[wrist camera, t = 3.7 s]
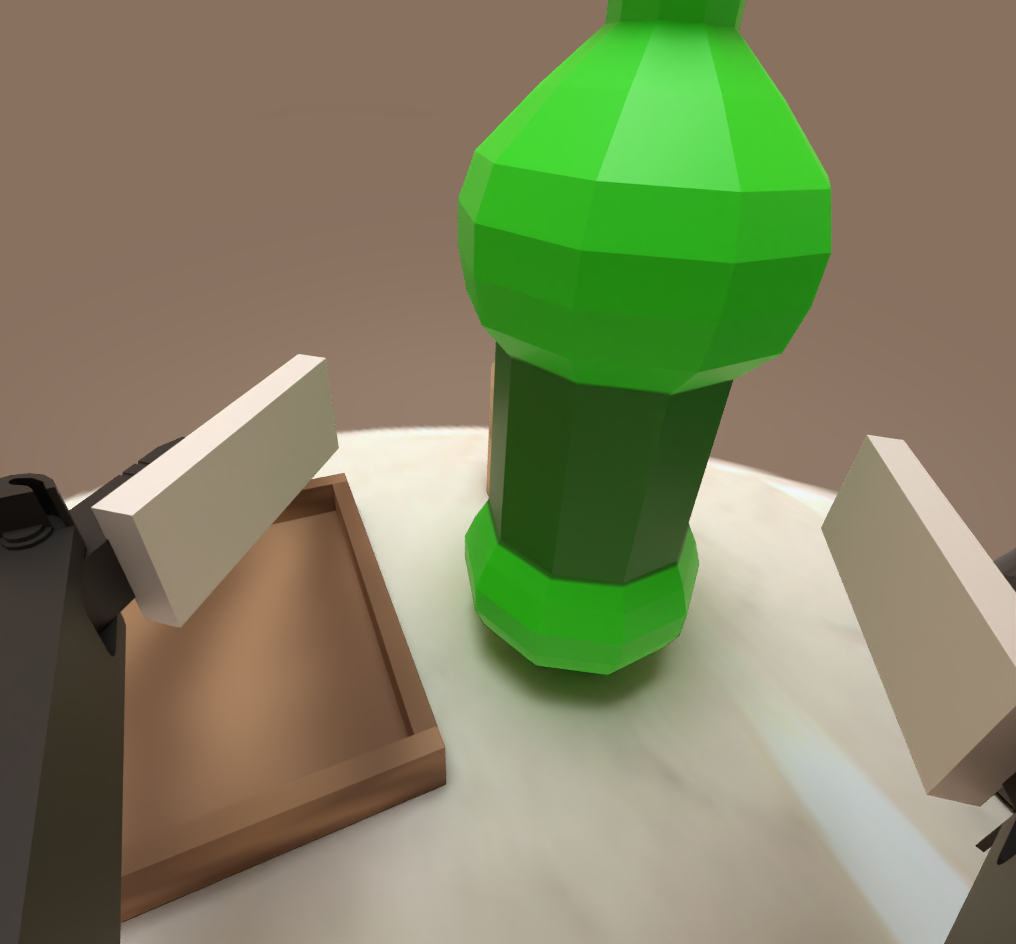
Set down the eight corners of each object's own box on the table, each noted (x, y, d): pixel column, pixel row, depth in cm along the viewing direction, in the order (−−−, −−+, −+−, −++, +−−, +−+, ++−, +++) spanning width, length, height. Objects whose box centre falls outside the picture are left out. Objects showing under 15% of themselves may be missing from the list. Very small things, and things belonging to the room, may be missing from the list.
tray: (349, 507, 32) (344, 473, 30) (445, 783, 19) (445, 747, 18) (-17, 586, 25) (-44, 547, 24) (-210, 1062, 13) (-287, 1040, 12)
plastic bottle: (701, 738, 21) (1194, -323, 7) (432, 700, 22) (392, -337, 8) (669, 558, 30) (869, -101, 15) (474, 535, 30) (491, -118, 16)
